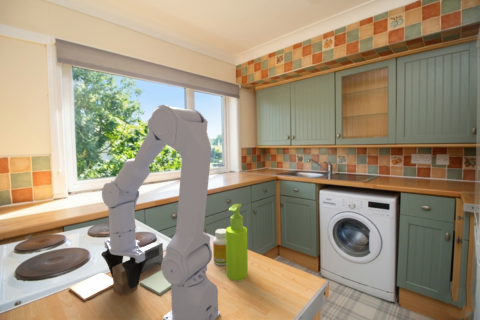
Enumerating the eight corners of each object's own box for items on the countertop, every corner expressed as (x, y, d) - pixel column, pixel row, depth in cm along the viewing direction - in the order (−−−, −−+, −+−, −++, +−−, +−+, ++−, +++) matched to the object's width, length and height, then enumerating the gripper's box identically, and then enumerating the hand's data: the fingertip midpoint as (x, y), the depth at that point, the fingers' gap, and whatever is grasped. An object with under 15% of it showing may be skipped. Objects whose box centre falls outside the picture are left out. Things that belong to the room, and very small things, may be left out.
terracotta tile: (118, 283, 63) (117, 281, 63) (84, 301, 56) (84, 298, 56) (102, 274, 67) (101, 272, 67) (69, 289, 60) (69, 287, 60)
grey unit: (163, 261, 74) (163, 242, 73) (140, 273, 67) (139, 253, 67) (157, 259, 75) (156, 240, 75) (134, 270, 69) (133, 250, 68)
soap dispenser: (221, 280, 64) (221, 207, 62) (230, 267, 70) (230, 200, 69) (243, 284, 62) (242, 209, 60) (249, 270, 69) (249, 202, 67)
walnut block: (137, 287, 61) (136, 264, 61) (122, 295, 58) (121, 272, 57) (128, 282, 64) (127, 260, 63) (113, 290, 60) (112, 267, 60)
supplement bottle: (228, 266, 71) (228, 235, 70) (211, 264, 72) (210, 233, 71) (232, 257, 76) (232, 228, 75) (216, 256, 77) (216, 227, 76)
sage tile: (184, 278, 65) (184, 276, 65) (159, 295, 58) (159, 292, 58) (164, 270, 69) (164, 268, 69) (139, 284, 62) (139, 282, 62)
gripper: (155, 230, 59) (157, 282, 60) (121, 219, 67) (123, 265, 68) (128, 240, 53) (130, 298, 54) (95, 227, 61) (98, 277, 62)
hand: (125, 281), depth 61 cm, fingers open, 7 cm apart
